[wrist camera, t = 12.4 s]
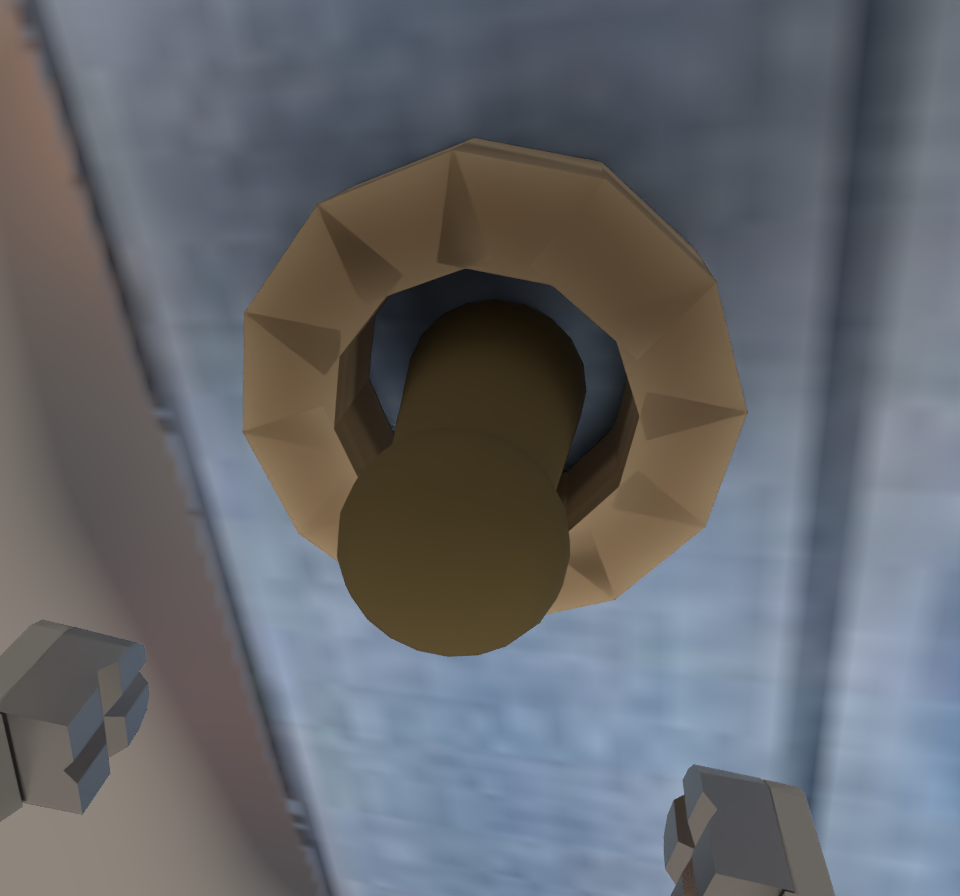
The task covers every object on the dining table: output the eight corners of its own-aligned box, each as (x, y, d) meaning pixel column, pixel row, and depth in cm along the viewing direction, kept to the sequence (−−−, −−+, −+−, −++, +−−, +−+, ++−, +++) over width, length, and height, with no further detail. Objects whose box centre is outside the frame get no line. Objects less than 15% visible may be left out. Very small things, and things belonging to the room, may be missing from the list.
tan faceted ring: (301, 104, 21) (246, 110, 18) (779, 195, 21) (819, 219, 17) (283, 505, 28) (240, 568, 24) (647, 581, 27) (657, 656, 24)
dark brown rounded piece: (389, 435, 26) (274, 649, 16) (434, 273, 23) (328, 416, 13) (550, 488, 26) (532, 732, 16) (614, 335, 23) (639, 520, 14)
